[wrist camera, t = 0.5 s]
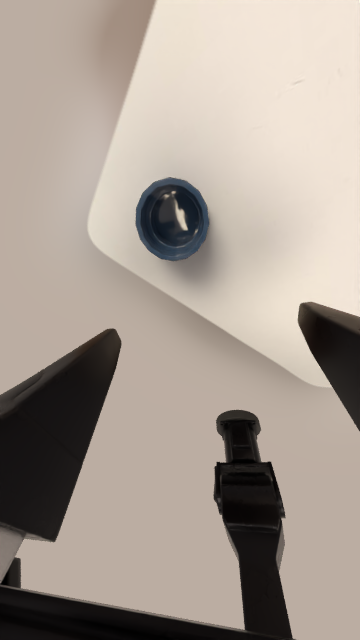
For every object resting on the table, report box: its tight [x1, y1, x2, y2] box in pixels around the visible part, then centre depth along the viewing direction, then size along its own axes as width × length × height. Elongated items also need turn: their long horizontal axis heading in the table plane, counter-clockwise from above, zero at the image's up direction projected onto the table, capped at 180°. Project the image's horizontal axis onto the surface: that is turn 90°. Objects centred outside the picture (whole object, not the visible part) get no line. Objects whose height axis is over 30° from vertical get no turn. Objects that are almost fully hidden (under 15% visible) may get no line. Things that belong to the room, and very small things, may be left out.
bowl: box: [136, 177, 209, 261], centre depth 17 cm, size 6×6×4 cm
